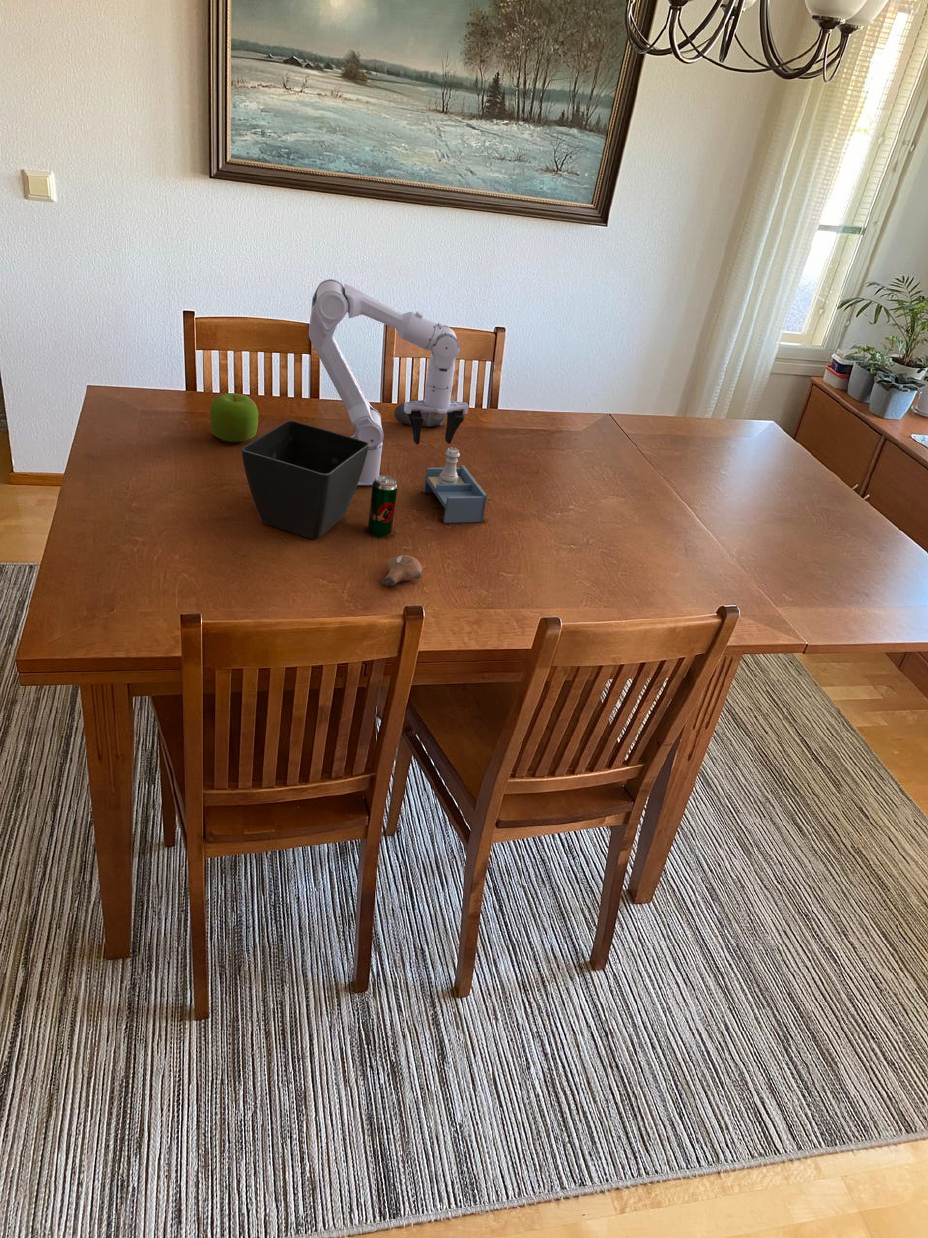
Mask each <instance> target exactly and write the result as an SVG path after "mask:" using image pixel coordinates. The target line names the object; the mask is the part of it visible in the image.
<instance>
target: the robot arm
mask: <svg viewBox="0 0 928 1238" xmlns="http://www.w3.org/2000/svg"><path fill="white" fill-rule="evenodd" d="M346 315H348V319H352V318H355V317H358V316H365V317H367V318H370V319H372V320H373V321H377V322H379V323H382V324H383V325H386V326H388V327H391V328H392V329H396V330H397V333H398V336H399V338H400V339H403V340H405V341H406V342H409V343H410V344H413V345H415V346H417V347H419V348H421V349H424V350H425V351H430V356H429V361H428V367H427V374H426V382H425V383H426V384H425V390H424V391H425V392H424V399H418V400H419V401H417V400H412V401H413V402H410V401H404V403H405V404H404V411H405V412H406V414H408V416H409V419H410V422H411V425H410V426H411V430H412V438H413V442H414V444H415V445H420V443H421V431H422V427H423V426H422V423H423V420H424V419H423V418H422V417H421V416H422V414H421V412H437V413H446V412H447V417H446V429H445V435H444V441H445V442H446V444H448V445H451V444H452V441H453V438H454V436H455V434H456V432H457V431H458V429H459V427H460V425H461V424H462V423H463V422H464V420H465V415H464V414H468V412H469V404H468V403H467V402H466V401H456V400H451V399H452V390H453V385H454V384H453V383H454V376H455V369H456V368H455V367H456V365H455V363H456V360H457V359H456V358H457V357H458V355H459V354H460V351H461V348H460V343H459V340H458V337H457V335H456V333H455V331H454V330H453V329H452V328H451V327H449V325H446V324H442V323H440V322H437V323H436V322H434V321H431V320H429V319H427V318H425V317H424V315H423V313H422V312H420V311H418V310H417V311H416V312H413V311H408V312H405V313H401V312H399V311H397V310H396V309H394V308H392V307H391V306H388V305H387V304H384V303H383V302H381V301H379V300H377V299H375V298H374V297H372V296H371V295H369V294H367V293H366V292H362V291H361V290H359V289H357V288H355V287H353V286H352V285H349V284H345V283H344V284H343V283H342V282H341V281H339V280H336V279H332V278H327V279H325V280H323V281H321V282H320V283H319V284H318V286H317V287H316V290H315V291H314V293H313V295H312V298H311V309H310V317H309V325H308V337H309V341H310V342H311V344H312V346H313V348H314V350H315V352H316V353H317V356H318V357H319V360H320V361H321V364H322V365H323V367H324V369H325V372H326V373H327V375H328V377H329V378H330V380H331V382H332V384H333V386H334V388H335V390H336V392H337V394H338V396H339V397H340V399H341V401H342V403H343V405H344V407H345V409H346V411H347V413H348V417H349V419H350V422H351V425H352V427H353V429H354V433H353V434H352V435H351V436H350V437H351V438H355V439H358V440H361V441H365V442H367V443H369V447H368V452H367V456H366V459H365V463H364V467H363V470H362V473H361V476H360V479H359V482H358V485H357V486H372V484H373V482H374V481H375V478H376V477H377V476H381V475H380V472H381V471H380V469H381V462H382V461H381V460H382V453H383V445H384V441H383V440H384V435H385V434H384V430H383V426H382V415H381V413H380V412H379V411H378V410H377V409H376V408H374V407H373V406H372V405H371V404H370V401H369V400H368V399H367V398H366V397H365V394H364V392H363V391H362V389H361V387H360V385H359V383H358V381H357V379H356V377H355V375H354V373H353V370H352V369H351V367H350V365H349V363H348V361H347V359H346V357H345V355H344V353H343V351H342V350H341V349H342V348H340V346H339V344H338V341H337V339H336V337H335V335H334V334H335V332H336V329H337V326H338V325H339V324H340V322H341V321H342V320H344V318H345V317H346Z"/></svg>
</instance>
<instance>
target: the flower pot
mask: <svg viewBox="0 0 928 1238" xmlns="http://www.w3.org/2000/svg"><path fill="white" fill-rule="evenodd" d="M368 447H369V443H367V442H365V441H361V440H358V439H355V438H351V436H347V435H344V434H341V433H337V432H334V431H330V430H328V429H327V430H326V429H323V428H320V427H316V426H312V425H309V424H306V423H302V422H299V421H296V420H286V421H284V422H282V423H280V424H279V425H278V426H276V427H274V428H273V429H271V430H270V431H268V432H266V433H265V434H263V435H261V436H259V437H257V438H255V439H254V440H252V441H251V442H249V443H247V444H246V445H244V446H242V447H241V457H242V463H243V468H244V472H245V477H246V480H247V484H248V487H249V492H250V494H251V496H252V500H253V502H254V505H255V507H256V510H257V512H258V515H259V517H260V520H261V521H262V523H263V524H265V525H268V526H269V527H270V526H271V527H274V528H276V529H279V530H283V531H286V532H290V533H292V534H295V535H298V536H301V537H305V538H307V539H311V540H319V538H321V537H322V536H323V535H324V534H325V533H326V532H328V531H329V530H330V529H331V528H333V527H334V526H335V525H336V524H337V523H339V522H340V520H342V519H343V518H344V517H345V515H346V513H347V511H348V509H349V507H350V504H351V502H352V500H353V497H354V495H355V493H356V490H357V487H358V486H359V485H358V482H359V479H360V476H361V473H362V470H363V467H364V463H365V459H366V456H367V452H368Z"/></svg>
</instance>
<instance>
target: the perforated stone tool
mask: <svg viewBox="0 0 928 1238" xmlns="http://www.w3.org/2000/svg"><path fill="white" fill-rule="evenodd" d="M419 400H420V399H418V400H416V401H419ZM413 401H414V400H410V401H409V402H413ZM404 404H405V402H403V403H401V404H398V405H397V406H396V407H395V409H394V412H393V416H394V418H395V420H397V422H400V423H402V424H404V425H409V426H412V425H411V422H410V419H409V416H408V414H406V412H405V411H404ZM421 414H422V416H421V417H422V418H423V419H424V420H423V423H422V427H423V428H425V427H426V428H428V427H429V428H430V427H436V428H437V427H442V426H443V425H444V424H445V421H446V420H447V412H446V413H437V412H421Z"/></svg>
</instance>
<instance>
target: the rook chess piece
mask: <svg viewBox="0 0 928 1238" xmlns="http://www.w3.org/2000/svg"><path fill="white" fill-rule="evenodd" d="M445 455H446V457H445V458H444V460H445V464H444V467H443V468H444V470H442V472H441V473H440V478H439V481H440V483H441V484H457V483H458V481H457V480H458V475H457V472H456V467H457V463H458V462H459V460H458V458H459V457H460V456H461V453H460V450H459V448H457V447H454V448H453V446H452V447H448V448H447V450H445Z"/></svg>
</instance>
